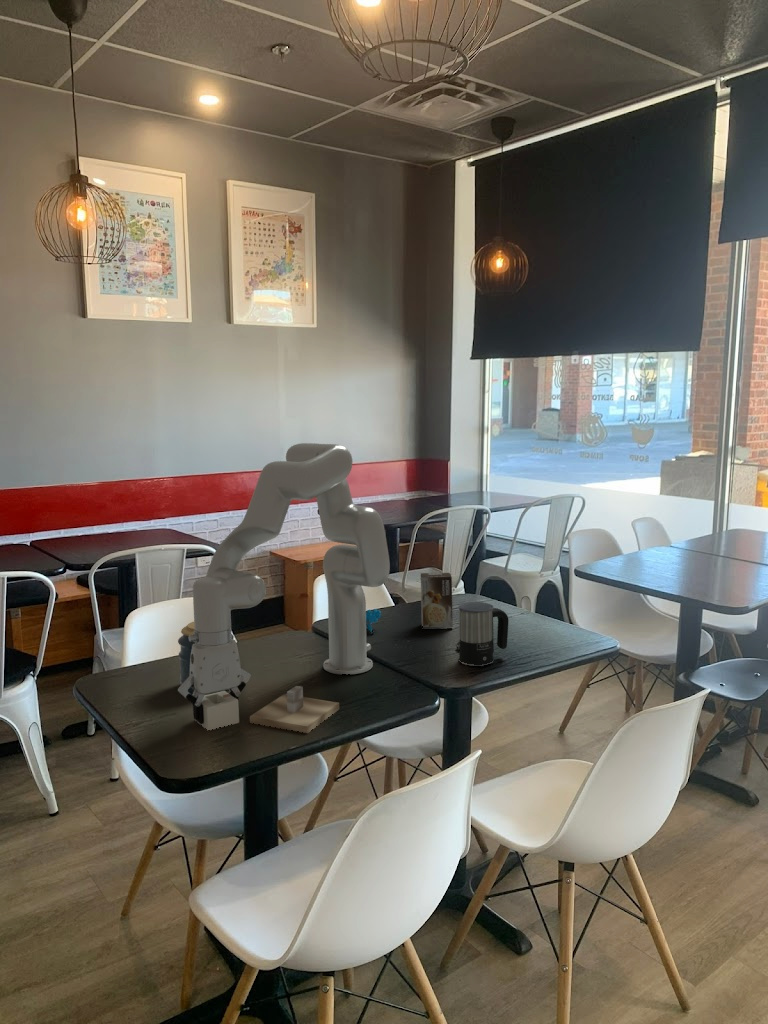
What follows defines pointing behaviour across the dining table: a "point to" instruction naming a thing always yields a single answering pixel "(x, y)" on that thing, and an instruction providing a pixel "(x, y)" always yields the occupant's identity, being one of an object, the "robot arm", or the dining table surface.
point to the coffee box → (436, 600)
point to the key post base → (295, 712)
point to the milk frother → (480, 632)
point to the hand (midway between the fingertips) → (216, 716)
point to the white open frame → (219, 710)
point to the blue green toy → (372, 617)
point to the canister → (187, 654)
